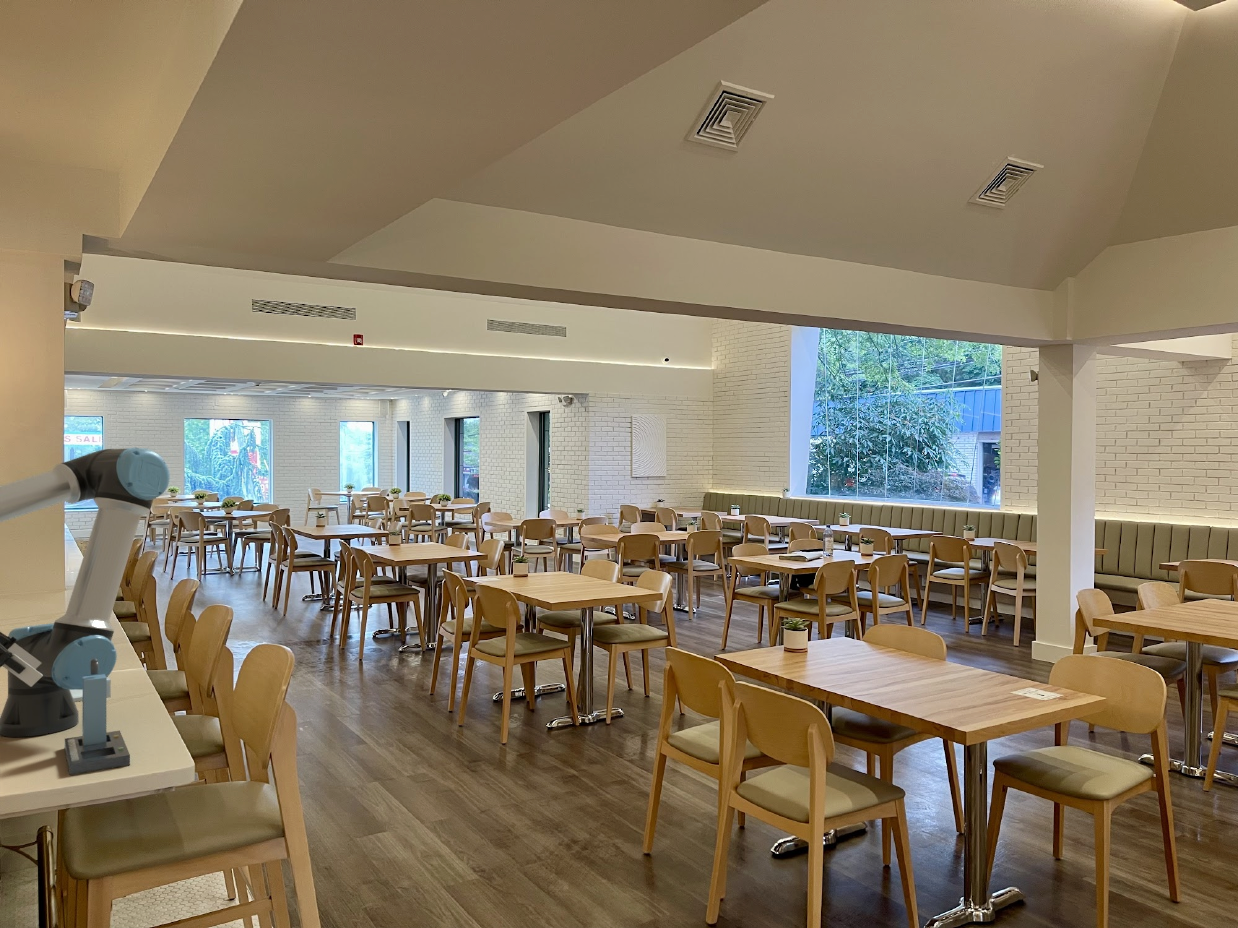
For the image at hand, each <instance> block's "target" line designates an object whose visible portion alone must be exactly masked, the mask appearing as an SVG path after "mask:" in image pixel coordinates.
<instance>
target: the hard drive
mask: <svg viewBox="0 0 1238 928" xmlns="http://www.w3.org/2000/svg"><path fill="white" fill-rule="evenodd" d="M70 692H71V694H72V697H73V700H74V702H75V703H77V702H78V701H79V702H83V689H82V690H77V689H75V690H71V689H70Z"/></svg>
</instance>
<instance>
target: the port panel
mask: <svg viewBox="0 0 1238 928" xmlns="http://www.w3.org/2000/svg"><path fill="white" fill-rule="evenodd" d="M64 752H65V757H66V763H67V769H68V774H69V776H73V775H79V774H86V773H91V772H98V771H103V770H104V771H105V770H110V769H115V768H120V767H128V766H130V765H131V760H130V759H131V757H130V756H131V755H130V752H129V750H128V747H127V745H126V743H125V740H124V737H123V735H122V732H121V730H115V731H108V732H107V731H106V742H104V743H97V744H91V745H84V746H82V735H81V736H75V737H74V736H73V737H67V738H66V737H65V738H64Z"/></svg>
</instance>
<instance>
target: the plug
mask: <svg viewBox="0 0 1238 928" xmlns="http://www.w3.org/2000/svg"><path fill="white" fill-rule="evenodd" d="M95 674H98V660H97V659H92V660H91V675H93V676H85V677H83V701H82V714H81V715H82V716H81V717H82V719H81V720H82V721H81V722H82V728H81V729H82V733H81V734H82V735H81V736H82V746H84V745H91V744H97V743H104V742H106V732H107V699H108V698H111V695H112V694H111V692H112V691H111V685H112V684H111V683H112V682H111V681H112V680H111V678H110V677H107V678H106V676H105V674H102V675H95Z"/></svg>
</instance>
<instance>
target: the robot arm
mask: <svg viewBox="0 0 1238 928" xmlns="http://www.w3.org/2000/svg"><path fill="white" fill-rule="evenodd" d="M169 484H170V470H169V467H168V465H167V464H166V462H165V459H164V458H163V457H162V456H161V455H160V454H158V453H157V452H155V451H154V450H151V449H148V448H140V447H129V448H106V449H101V450H97V451H94V452H90V453H88V454H84V455H82V456H79V457H76V458H74V459H70V460H68V461H64V462H62V463H58V464H56V465H55V466H54V467H53V468H52V470H50V471H46V472H43V473H39V474H36V475H31V476H30V477H26V478H22V479H19V480H16V481H12V482H9V483H5V484H2V485H0V523H2V522H6V521H9V520H12V519H15V518H19V517H21V516H24V515H28V514H30V513H31V514H32V513H33V512H37V511H40V510H42V509H46V508H49V507H50V508H51V507H52V506H53V507H54V506H56V505H59V504H62V503H64V502H65V503H68V504H71V505H72V504H76V503H79V502H83V501H87V500H88V501H89V500H93V501H94V503H95V504H96V506H97V509H98V510H97V512H96V516H95V520H94V521H93V522H94V523H93V525H92V529H91V532H90V535H89V538H88V542H87V544H86V548H85V550H84V551H85V552H84V554H83V557H82V560H81V563H80V567H79V569H78V573H77V576H76V580H75V582H74V586H73V590H72V592H71V595H70V599H69V601H68V604H67V608H66V611H65V613H64V615H62V616H60V617H59V618H56V619H55V621H54V622H53V623H46V624H45V623H44V624H36V625H29V626H24V627H23V626H22V627H17V628H13V629H12V630H10V631H9V633H8V636H7V635H6V633H5V634H4V633H3V632H2V631H0V668H2V667H3V668H4V669H5V670H7V698H6V701H5V703H4V706H3V708H2V711H1V714H0V736H3V737H10V738H15V737H16V738H21V737H33V736H35V737H36V736H41V735H47V734H48V733H49V734H53V733H57V732H62V731H65V730H67V729H70V728H73V727H76V725H78V724H79V720H80V719H79V718H80V717H79V710H78V707H77V704H76V702H74V700H73V697H72V694H71V692H70V689H71V690H75V689H77V690H82V689H83V677H85V676H93V675H91V660H92V659H97V660H98V674H95V675H102V674H105V676H106V678H109V676H110V674H112V672H113V670H114V668H115V665H116V662H117V656H118V655H117V654H118V653H117V649H116V648H115V644H114V643H113V642H112V640H113V636H114V633H115V628H114V627H113V626H112V624H111V622H110V619H111V617H112V613H113V609H114V608H115V607H114V606H115V603H116V600H117V597H118V596H117V595H118V593H119V590H120V586H121V583H122V579H123V576H124V573H125V570H126V567H127V563H128V560H129V555H130V553H131V550H132V546H133V542H134V539H135V536H136V533H137V530H138V527H139V524H140V520H141V518H142V517H144V516H145V515H147V514H149V513H150V512H151V510H152V506H153V502H154V499H157V498H159V497H160V496H162V495H163V494H164V493H165V492H166V491H167V488H168V487H169Z"/></svg>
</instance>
